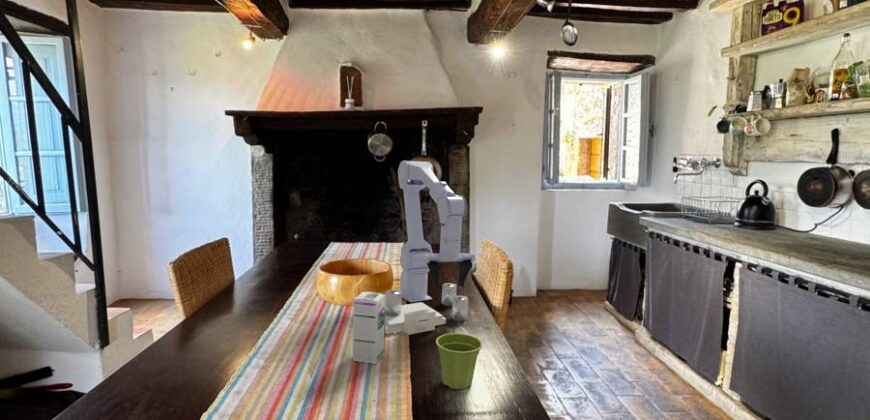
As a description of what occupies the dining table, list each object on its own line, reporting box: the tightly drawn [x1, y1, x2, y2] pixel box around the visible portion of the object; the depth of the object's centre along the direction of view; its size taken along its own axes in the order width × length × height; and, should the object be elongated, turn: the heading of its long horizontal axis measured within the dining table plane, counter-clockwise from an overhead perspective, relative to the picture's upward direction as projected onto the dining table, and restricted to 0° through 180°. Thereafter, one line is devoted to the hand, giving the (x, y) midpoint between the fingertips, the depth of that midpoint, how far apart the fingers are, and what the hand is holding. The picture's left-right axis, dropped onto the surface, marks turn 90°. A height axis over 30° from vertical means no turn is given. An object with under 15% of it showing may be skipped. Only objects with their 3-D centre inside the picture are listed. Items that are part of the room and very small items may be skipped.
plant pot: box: [435, 332, 483, 390], centre depth 91 cm, size 9×9×9 cm
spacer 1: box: [385, 289, 403, 316], centre depth 122 cm, size 4×4×6 cm
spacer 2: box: [441, 282, 458, 307], centre depth 140 cm, size 4×4×6 cm
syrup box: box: [352, 291, 386, 365], centre depth 100 cm, size 6×6×14 cm
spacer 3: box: [451, 295, 469, 322], centre depth 127 cm, size 4×4×6 cm
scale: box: [385, 301, 447, 336], centre depth 122 cm, size 15×18×5 cm
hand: (448, 286), depth 125 cm, fingers open, 7 cm apart
